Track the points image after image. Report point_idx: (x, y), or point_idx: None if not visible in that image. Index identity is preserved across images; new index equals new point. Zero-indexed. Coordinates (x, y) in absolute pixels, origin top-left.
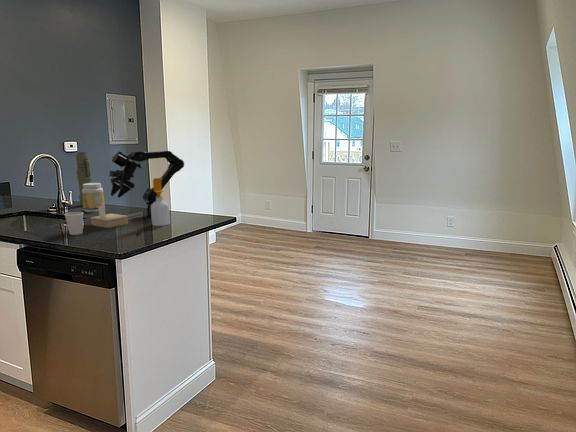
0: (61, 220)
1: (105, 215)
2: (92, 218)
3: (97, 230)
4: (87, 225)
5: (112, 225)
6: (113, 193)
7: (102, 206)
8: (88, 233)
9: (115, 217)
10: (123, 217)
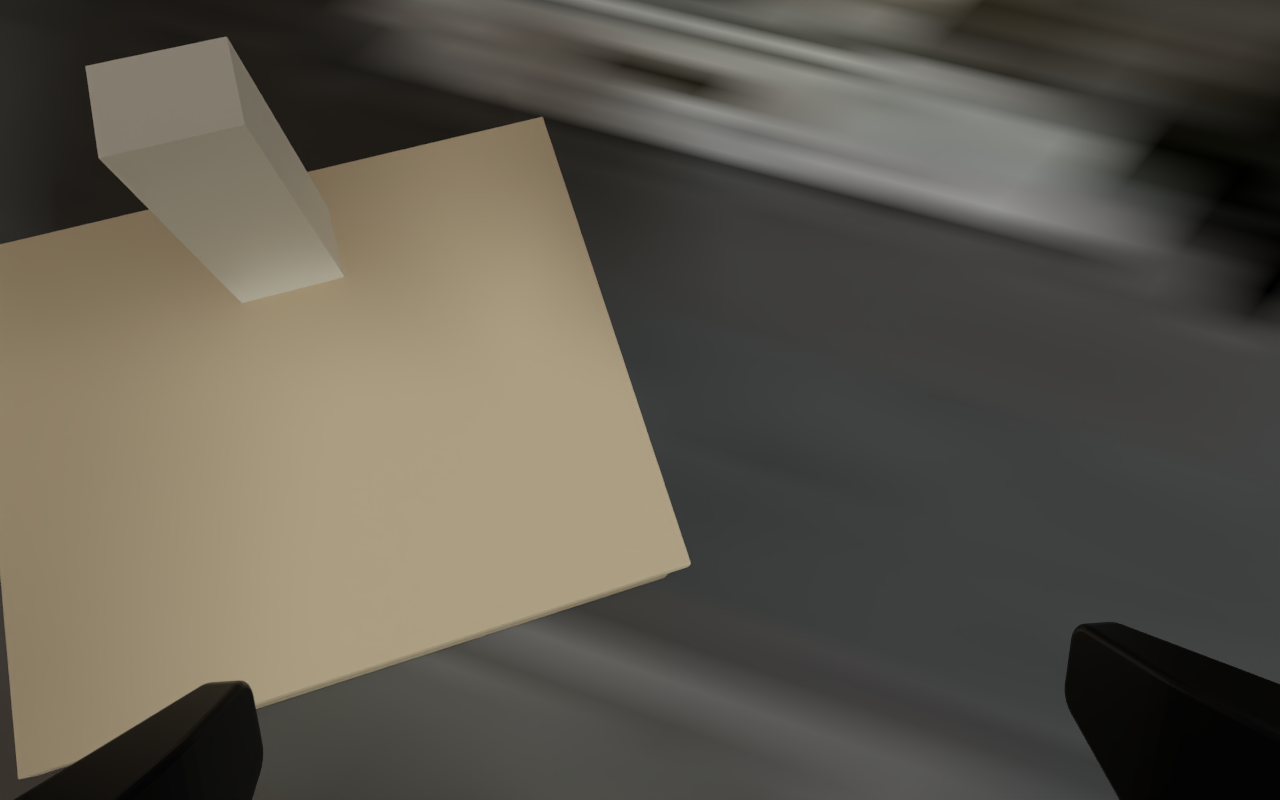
0: (1263, 17)
1: (217, 276)
2: (484, 142)
3: (100, 164)
4: (606, 168)
5: None
6: (1155, 779)
7: (149, 113)
8: (14, 24)
9: (103, 466)
10: (17, 635)
